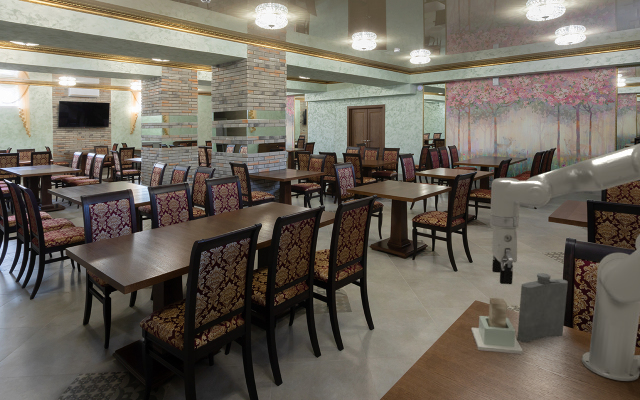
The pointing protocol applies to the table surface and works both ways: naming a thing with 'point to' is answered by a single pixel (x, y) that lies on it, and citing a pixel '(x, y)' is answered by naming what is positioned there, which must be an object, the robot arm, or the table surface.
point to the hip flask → (542, 308)
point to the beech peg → (497, 313)
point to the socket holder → (496, 337)
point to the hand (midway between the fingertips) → (501, 277)
